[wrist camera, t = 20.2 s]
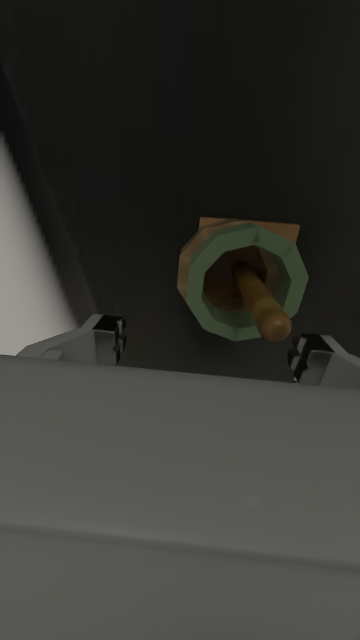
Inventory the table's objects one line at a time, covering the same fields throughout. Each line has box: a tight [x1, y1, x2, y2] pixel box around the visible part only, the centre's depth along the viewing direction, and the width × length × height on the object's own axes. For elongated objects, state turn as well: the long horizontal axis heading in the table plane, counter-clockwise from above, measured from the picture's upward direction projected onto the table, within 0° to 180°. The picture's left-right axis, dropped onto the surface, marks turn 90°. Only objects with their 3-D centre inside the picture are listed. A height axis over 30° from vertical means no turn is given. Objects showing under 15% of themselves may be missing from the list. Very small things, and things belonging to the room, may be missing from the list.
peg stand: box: [199, 216, 300, 342], centre depth 19 cm, size 9×9×14 cm
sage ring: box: [186, 222, 309, 341], centre depth 20 cm, size 9×9×3 cm
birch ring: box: [177, 218, 279, 314], centre depth 22 cm, size 9×9×3 cm
